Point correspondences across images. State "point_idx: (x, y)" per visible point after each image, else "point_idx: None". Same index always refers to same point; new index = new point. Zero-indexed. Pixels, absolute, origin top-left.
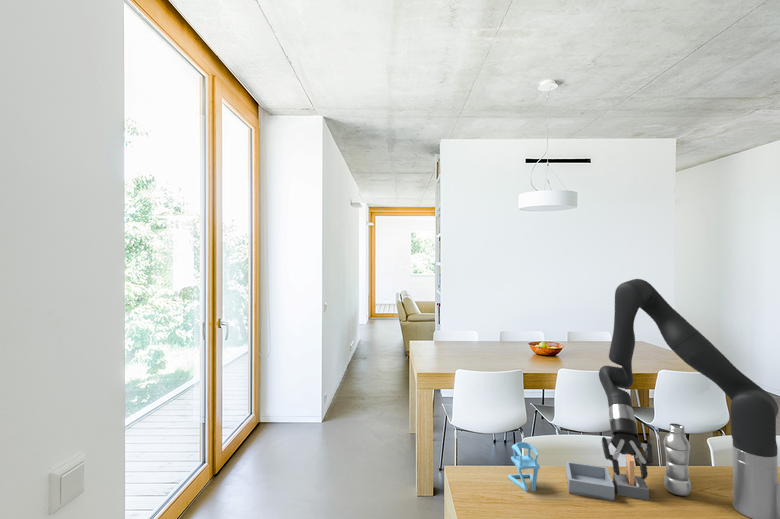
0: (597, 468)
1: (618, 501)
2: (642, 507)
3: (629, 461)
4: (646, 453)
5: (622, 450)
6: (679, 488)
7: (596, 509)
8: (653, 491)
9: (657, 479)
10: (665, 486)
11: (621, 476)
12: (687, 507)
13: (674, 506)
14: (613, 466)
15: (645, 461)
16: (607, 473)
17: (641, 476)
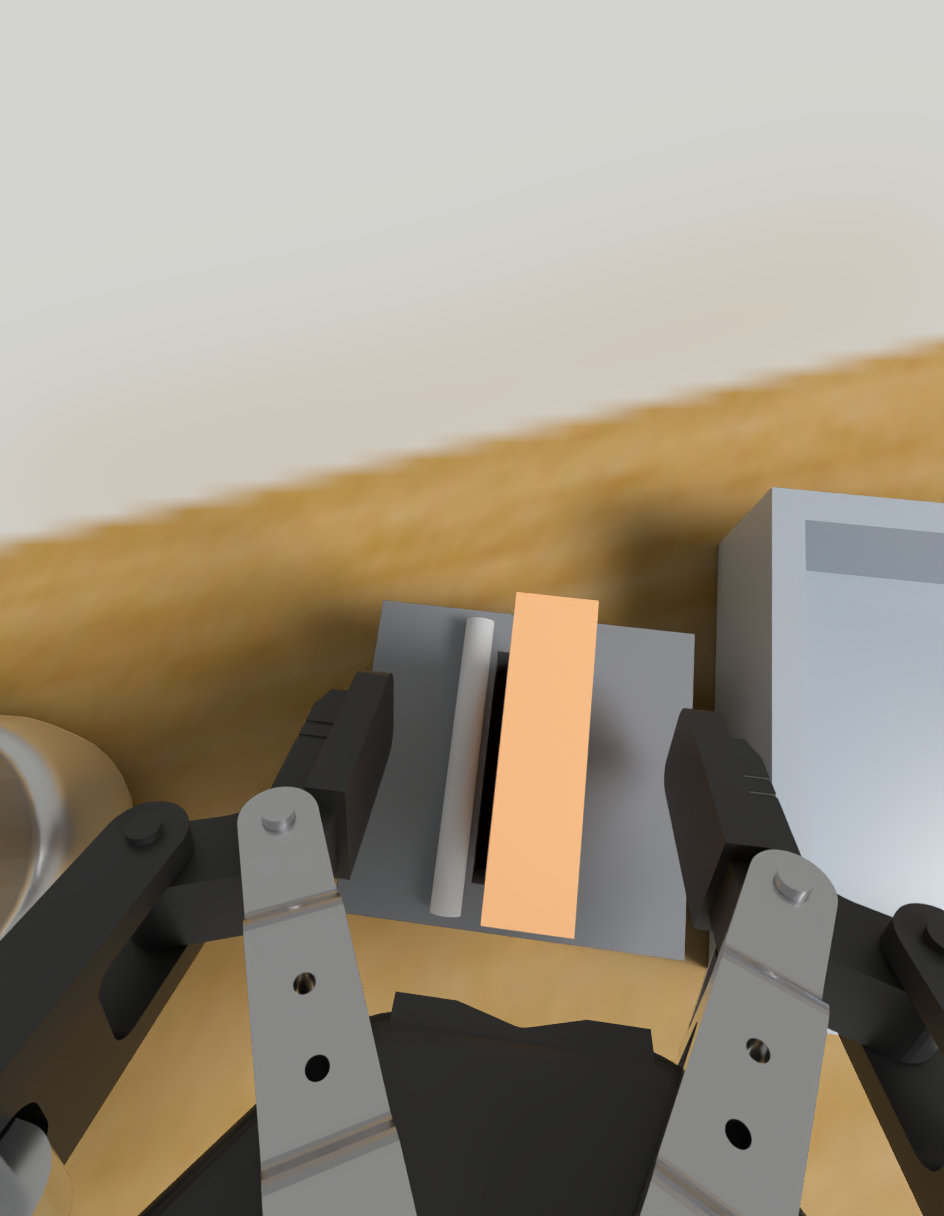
0: None
1: (682, 547)
2: (501, 500)
3: (594, 621)
4: (74, 1099)
5: (647, 1057)
6: (24, 719)
7: (889, 389)
8: None
9: (102, 1133)
10: None
11: (600, 859)
12: (112, 586)
13: (217, 577)
14: (769, 804)
15: (246, 816)
16: (799, 814)
17: (386, 763)
